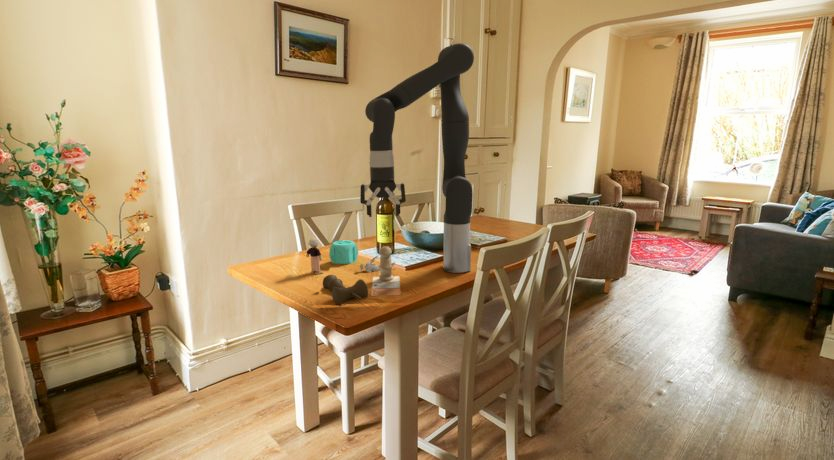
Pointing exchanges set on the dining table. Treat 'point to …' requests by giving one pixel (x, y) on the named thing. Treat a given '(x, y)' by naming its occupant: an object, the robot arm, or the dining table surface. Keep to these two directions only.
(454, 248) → the robot arm
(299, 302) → the dining table surface
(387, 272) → the pawn
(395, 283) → the board
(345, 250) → the decorative dice
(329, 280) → the kendama
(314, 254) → the grandmother figurine
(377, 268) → the soldier figure
